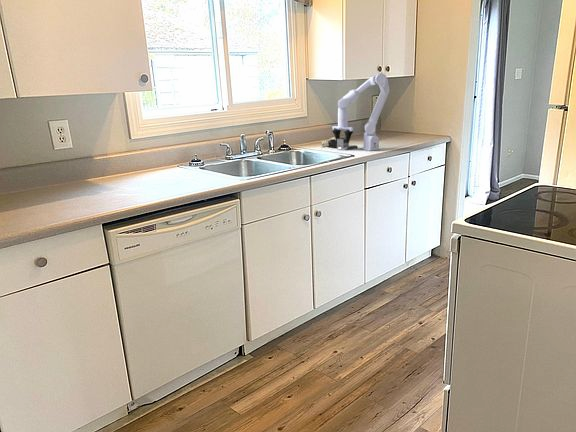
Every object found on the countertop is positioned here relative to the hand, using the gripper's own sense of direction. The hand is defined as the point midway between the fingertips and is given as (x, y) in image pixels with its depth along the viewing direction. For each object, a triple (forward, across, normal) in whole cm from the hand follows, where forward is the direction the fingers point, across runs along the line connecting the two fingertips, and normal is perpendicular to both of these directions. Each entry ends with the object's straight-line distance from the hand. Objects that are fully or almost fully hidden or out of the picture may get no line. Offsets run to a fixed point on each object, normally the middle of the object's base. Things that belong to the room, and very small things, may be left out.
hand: (342, 142), depth 280 cm
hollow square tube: (+3, 0, 0) cm, 3 cm away
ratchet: (+4, +1, +3) cm, 6 cm away
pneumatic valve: (+2, -18, 0) cm, 18 cm away
